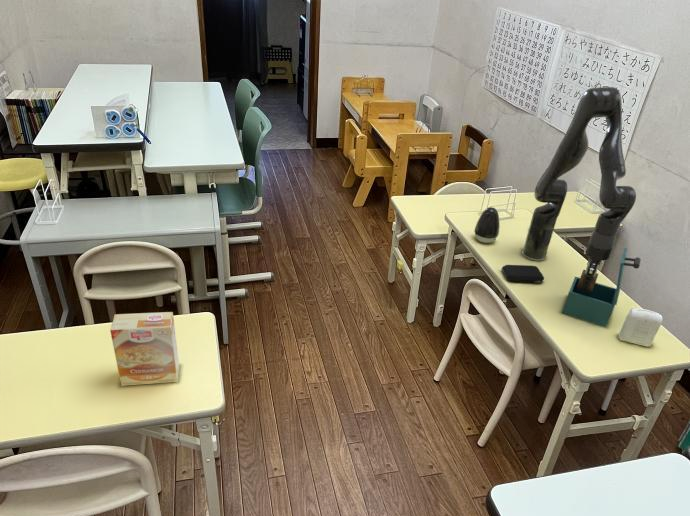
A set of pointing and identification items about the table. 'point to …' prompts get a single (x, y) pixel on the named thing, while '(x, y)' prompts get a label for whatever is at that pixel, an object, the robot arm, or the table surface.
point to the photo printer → (640, 327)
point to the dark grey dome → (487, 226)
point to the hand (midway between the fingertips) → (585, 285)
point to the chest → (590, 303)
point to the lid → (635, 265)
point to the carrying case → (523, 273)
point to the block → (590, 283)
